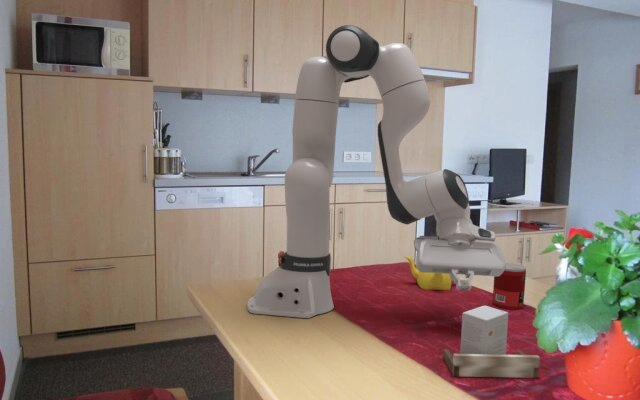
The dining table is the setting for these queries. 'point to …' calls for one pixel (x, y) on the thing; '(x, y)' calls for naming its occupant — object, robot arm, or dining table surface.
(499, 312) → the small box
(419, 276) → the teapot
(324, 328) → the dining table surface
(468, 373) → the bay
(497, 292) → the canned food
